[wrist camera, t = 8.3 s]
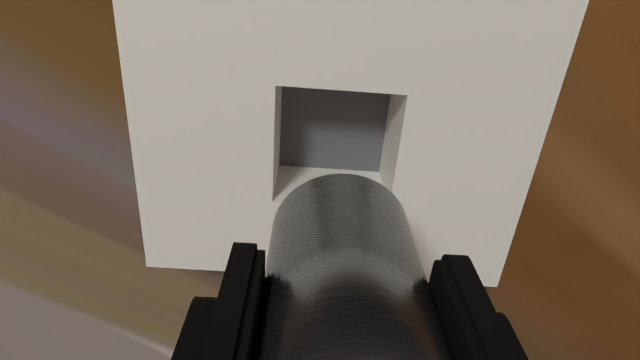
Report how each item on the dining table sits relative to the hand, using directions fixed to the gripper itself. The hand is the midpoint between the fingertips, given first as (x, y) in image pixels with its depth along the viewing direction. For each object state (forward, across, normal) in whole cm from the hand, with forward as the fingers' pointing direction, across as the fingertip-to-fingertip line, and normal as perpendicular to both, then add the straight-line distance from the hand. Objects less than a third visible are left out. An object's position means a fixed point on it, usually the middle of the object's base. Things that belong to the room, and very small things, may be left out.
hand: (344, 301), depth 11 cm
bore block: (+15, 0, 0) cm, 15 cm away
